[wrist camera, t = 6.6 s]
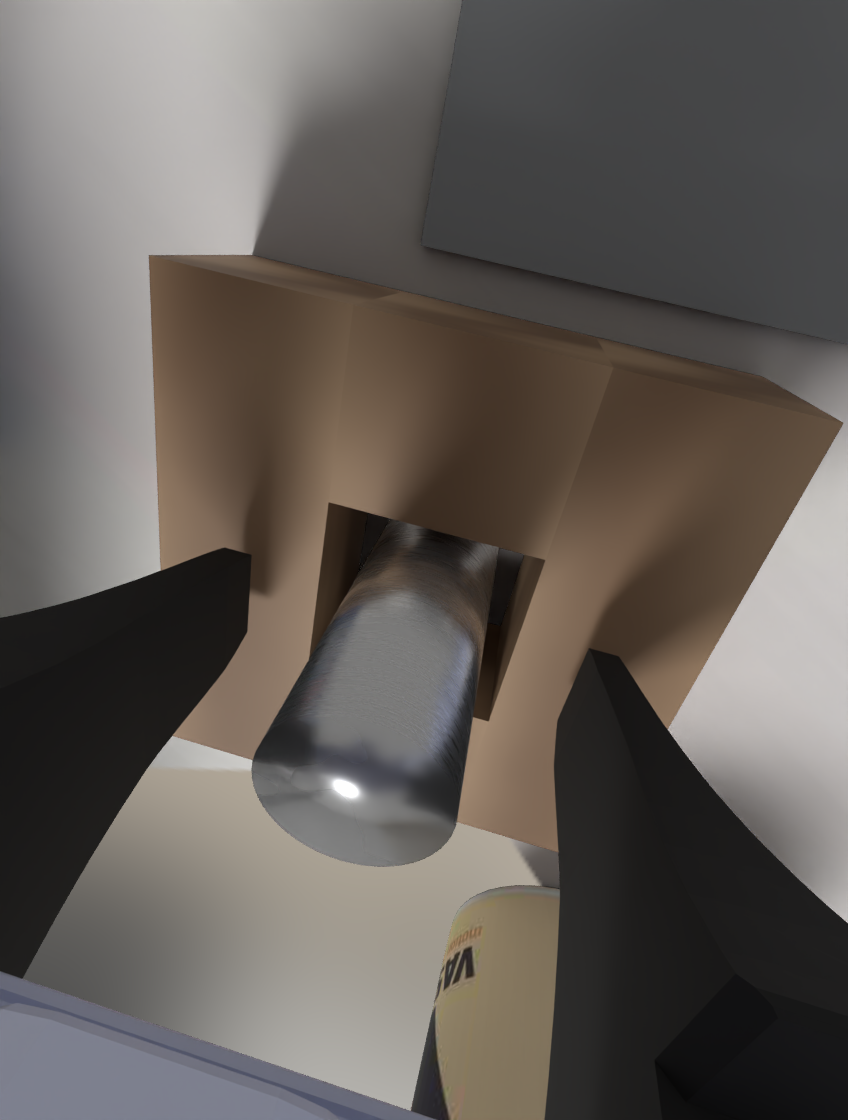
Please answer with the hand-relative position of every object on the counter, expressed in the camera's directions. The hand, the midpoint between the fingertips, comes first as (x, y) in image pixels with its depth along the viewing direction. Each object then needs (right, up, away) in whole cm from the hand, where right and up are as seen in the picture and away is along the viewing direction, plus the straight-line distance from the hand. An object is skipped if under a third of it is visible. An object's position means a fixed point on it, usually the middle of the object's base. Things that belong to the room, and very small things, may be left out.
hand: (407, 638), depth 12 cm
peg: (+1, +2, +4) cm, 5 cm away
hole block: (+1, +2, +4) cm, 5 cm away
